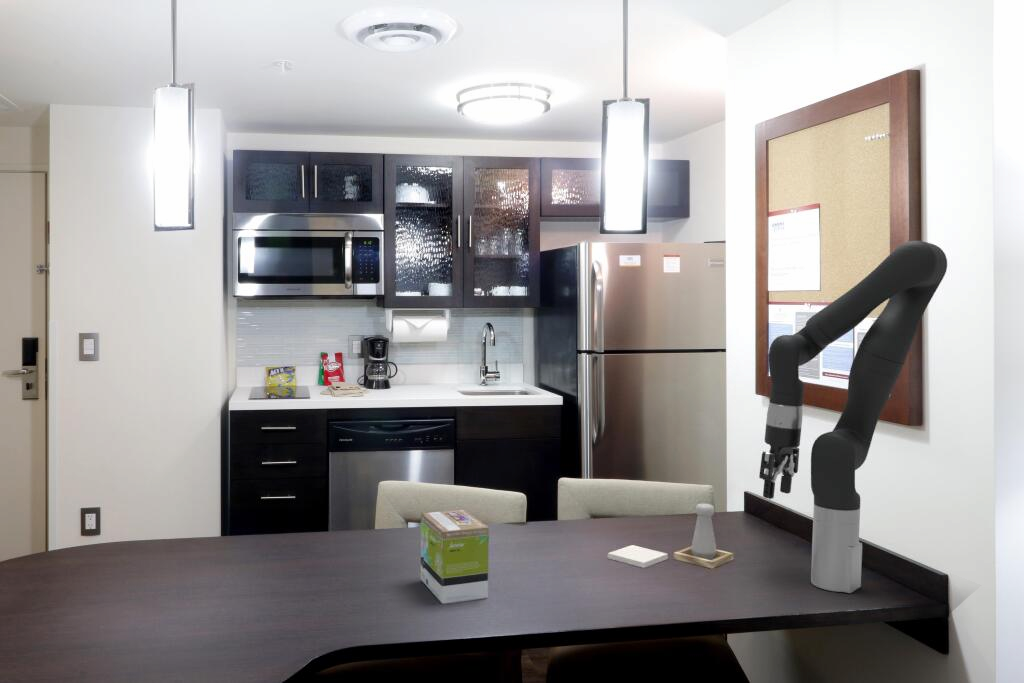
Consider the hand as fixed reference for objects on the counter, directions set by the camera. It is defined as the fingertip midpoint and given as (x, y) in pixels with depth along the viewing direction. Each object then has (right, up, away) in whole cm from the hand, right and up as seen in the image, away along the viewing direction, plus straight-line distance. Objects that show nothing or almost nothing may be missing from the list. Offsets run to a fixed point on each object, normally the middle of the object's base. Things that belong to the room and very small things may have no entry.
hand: (776, 495), depth 183 cm
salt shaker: (-14, -17, +8) cm, 24 cm away
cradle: (-14, -17, +8) cm, 24 cm away
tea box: (-72, -16, -16) cm, 75 cm away
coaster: (-30, -16, +8) cm, 35 cm away
